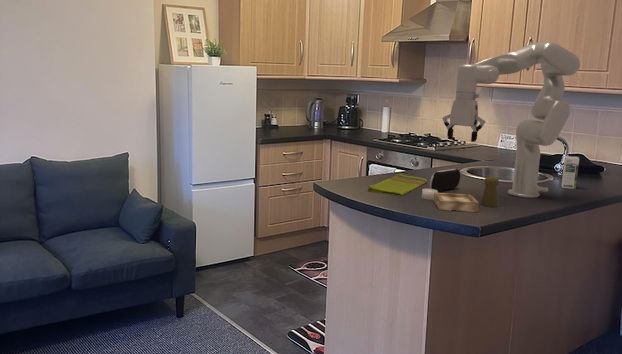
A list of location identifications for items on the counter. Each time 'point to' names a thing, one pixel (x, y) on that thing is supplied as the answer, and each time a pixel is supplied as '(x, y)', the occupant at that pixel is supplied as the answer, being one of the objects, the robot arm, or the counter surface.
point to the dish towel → (398, 185)
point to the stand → (456, 202)
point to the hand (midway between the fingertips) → (461, 140)
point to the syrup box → (570, 172)
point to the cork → (490, 192)
